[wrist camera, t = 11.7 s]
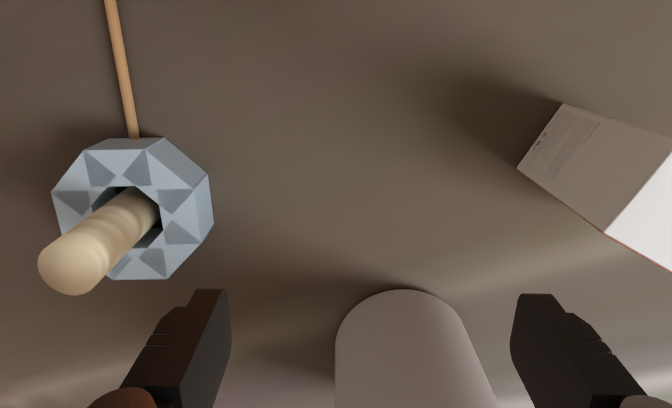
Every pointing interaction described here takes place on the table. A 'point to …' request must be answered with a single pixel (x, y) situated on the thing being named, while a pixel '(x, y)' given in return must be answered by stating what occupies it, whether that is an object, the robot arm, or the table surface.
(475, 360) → the cylinder vase
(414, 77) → the table surface
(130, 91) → the wooden stick
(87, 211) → the bead
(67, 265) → the dowel
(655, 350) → the table surface
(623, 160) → the small box
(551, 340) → the robot arm
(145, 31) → the table surface
